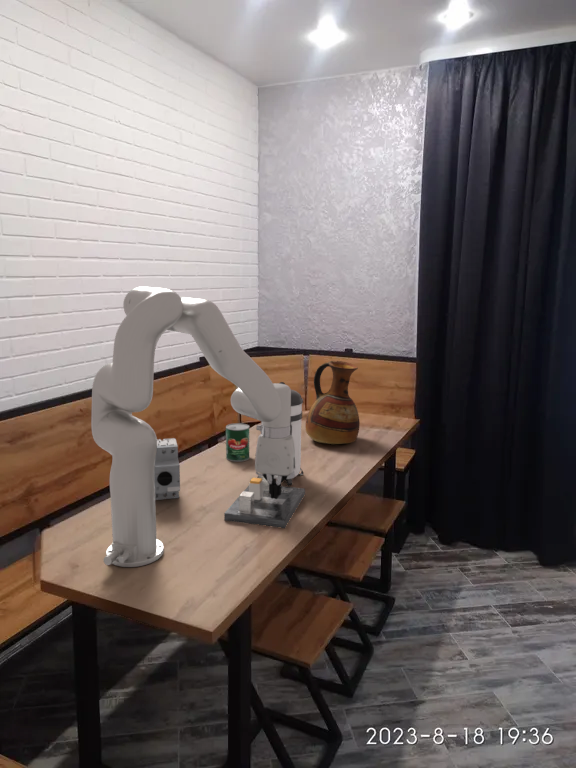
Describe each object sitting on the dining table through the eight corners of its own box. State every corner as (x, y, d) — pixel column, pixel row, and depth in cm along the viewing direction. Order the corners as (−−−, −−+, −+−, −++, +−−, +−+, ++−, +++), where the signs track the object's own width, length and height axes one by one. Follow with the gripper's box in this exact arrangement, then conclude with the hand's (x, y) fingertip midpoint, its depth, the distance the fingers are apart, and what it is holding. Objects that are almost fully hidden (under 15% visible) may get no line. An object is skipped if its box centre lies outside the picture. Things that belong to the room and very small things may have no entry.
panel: (284, 528, 146) (285, 503, 144) (224, 520, 150) (224, 496, 148) (304, 495, 167) (305, 473, 165) (251, 489, 171) (251, 467, 169)
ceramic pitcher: (348, 452, 204) (351, 368, 198) (296, 444, 213) (297, 363, 207) (366, 438, 222) (369, 360, 216) (317, 430, 230) (319, 355, 224)
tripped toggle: (259, 500, 157) (259, 482, 156) (248, 499, 157) (249, 481, 156) (262, 496, 159) (263, 478, 158) (252, 494, 160) (252, 477, 159)
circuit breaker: (152, 509, 156) (150, 455, 153) (150, 489, 169) (148, 439, 166) (181, 506, 158) (179, 453, 155) (176, 487, 171) (175, 438, 168)
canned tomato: (242, 452, 203) (242, 422, 201) (253, 459, 196) (253, 427, 194) (221, 456, 199) (221, 425, 196) (232, 463, 192) (232, 430, 190)
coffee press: (247, 472, 184) (247, 378, 178) (295, 467, 189) (296, 376, 183) (263, 492, 168) (264, 390, 162) (315, 486, 173) (317, 387, 167)
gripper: (244, 432, 151) (244, 499, 155) (300, 437, 148) (299, 505, 152) (253, 424, 159) (252, 488, 162) (307, 429, 155) (305, 494, 159)
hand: (275, 496), depth 157 cm, fingers closed
